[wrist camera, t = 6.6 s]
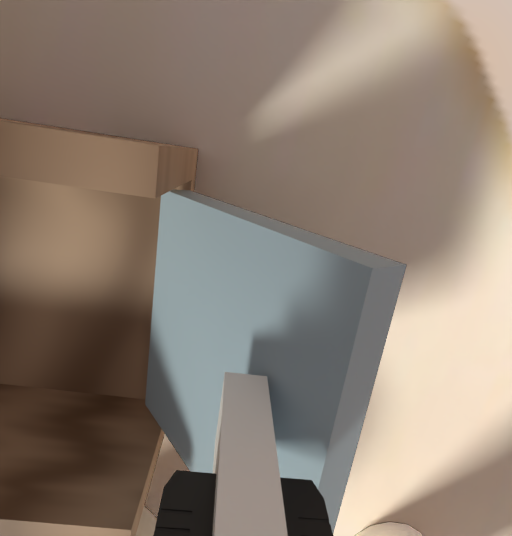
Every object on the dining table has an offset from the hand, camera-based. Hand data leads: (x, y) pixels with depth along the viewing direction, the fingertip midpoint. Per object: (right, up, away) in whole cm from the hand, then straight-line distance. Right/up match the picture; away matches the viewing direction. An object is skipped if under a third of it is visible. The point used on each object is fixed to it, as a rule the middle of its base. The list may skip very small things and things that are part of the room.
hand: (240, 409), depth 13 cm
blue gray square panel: (-4, +3, +8) cm, 9 cm away
